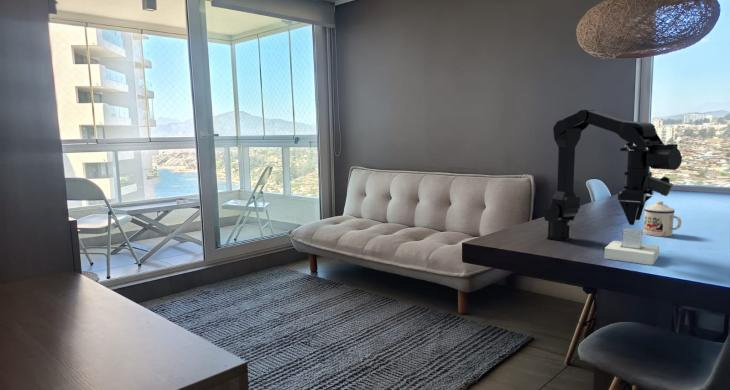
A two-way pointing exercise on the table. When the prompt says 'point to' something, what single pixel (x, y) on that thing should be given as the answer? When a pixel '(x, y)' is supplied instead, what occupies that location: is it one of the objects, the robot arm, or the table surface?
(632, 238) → the keyed peg
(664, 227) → the teacup with lid
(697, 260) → the table surface
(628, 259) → the hub block
